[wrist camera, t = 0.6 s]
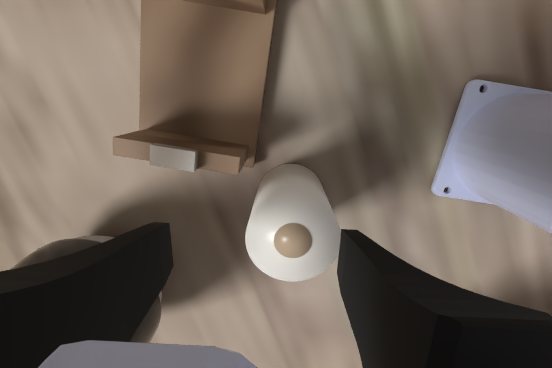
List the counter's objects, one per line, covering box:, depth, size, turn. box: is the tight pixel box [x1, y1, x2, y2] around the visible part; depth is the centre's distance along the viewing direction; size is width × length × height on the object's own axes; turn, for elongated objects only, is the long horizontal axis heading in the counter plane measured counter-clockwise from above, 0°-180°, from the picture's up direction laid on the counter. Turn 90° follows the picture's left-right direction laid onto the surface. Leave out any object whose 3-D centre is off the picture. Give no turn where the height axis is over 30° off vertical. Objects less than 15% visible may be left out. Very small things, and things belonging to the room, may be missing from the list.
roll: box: [245, 164, 341, 281], centre depth 18 cm, size 5×5×7 cm
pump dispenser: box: [10, 236, 162, 343], centre depth 17 cm, size 10×10×15 cm
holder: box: [113, 0, 277, 175], centre depth 17 cm, size 8×11×6 cm
